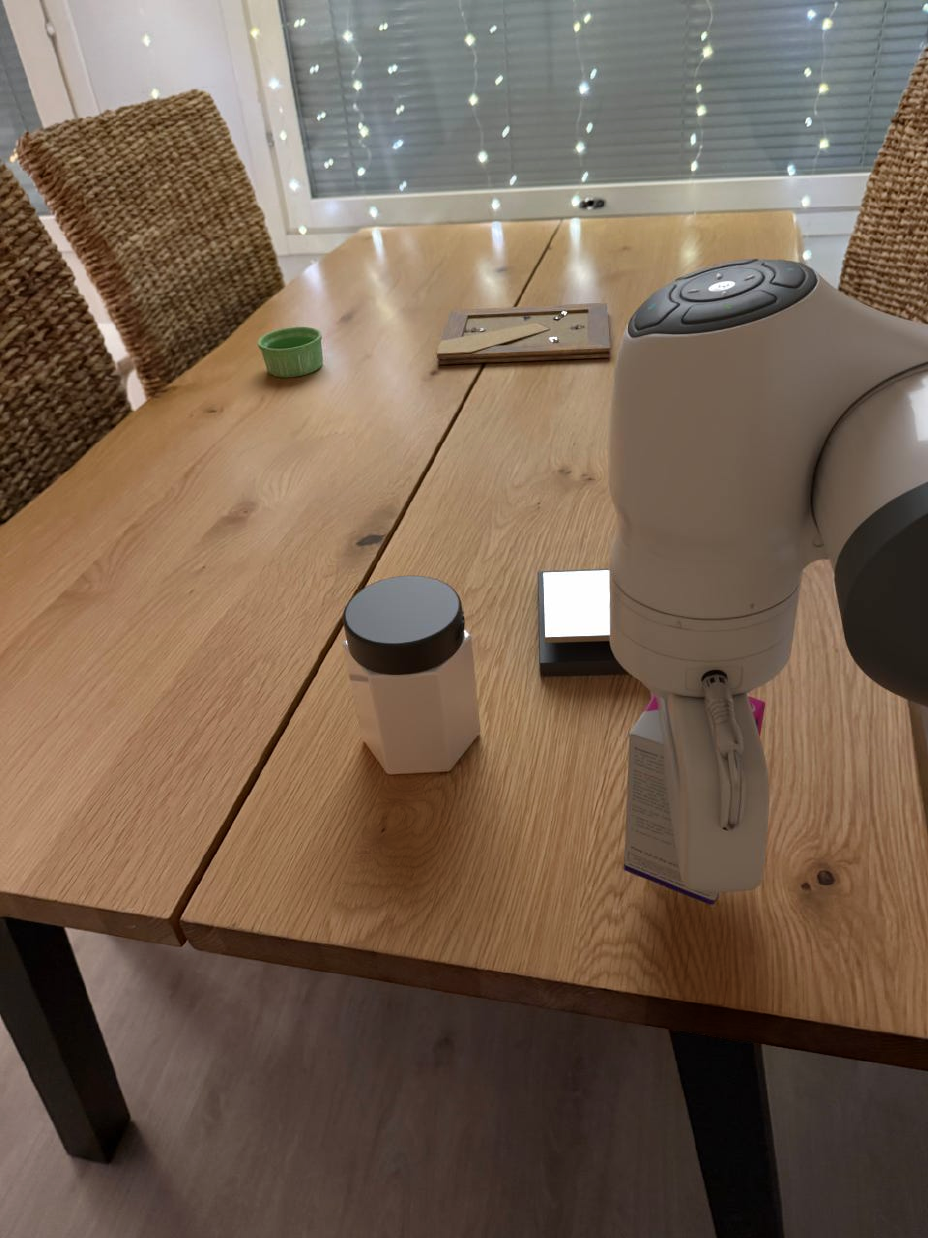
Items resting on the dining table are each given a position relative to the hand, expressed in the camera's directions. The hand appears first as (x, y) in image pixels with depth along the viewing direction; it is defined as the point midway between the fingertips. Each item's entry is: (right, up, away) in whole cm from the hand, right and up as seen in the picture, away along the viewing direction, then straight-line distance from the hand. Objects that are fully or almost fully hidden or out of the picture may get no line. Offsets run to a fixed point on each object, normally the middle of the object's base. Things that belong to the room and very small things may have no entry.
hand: (687, 805), depth 53 cm
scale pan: (-1, +12, +22) cm, 25 cm away
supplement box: (+1, -4, +3) cm, 5 cm away
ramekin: (-37, +47, +79) cm, 99 cm away
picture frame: (-4, +51, +81) cm, 96 cm away
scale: (+1, +10, +25) cm, 27 cm away
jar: (-16, +2, +16) cm, 23 cm away
